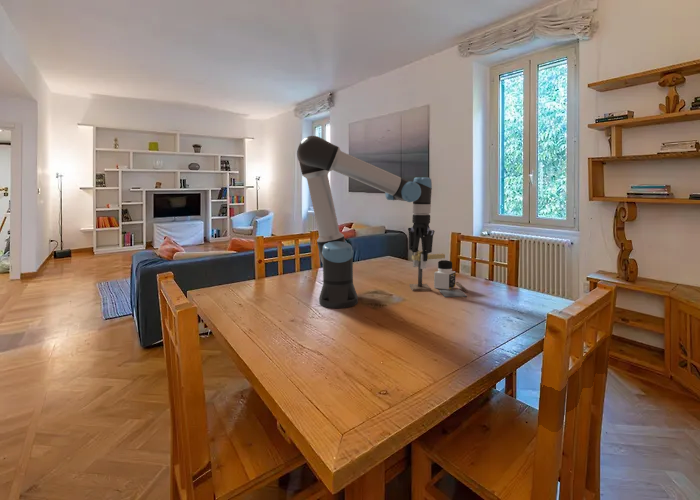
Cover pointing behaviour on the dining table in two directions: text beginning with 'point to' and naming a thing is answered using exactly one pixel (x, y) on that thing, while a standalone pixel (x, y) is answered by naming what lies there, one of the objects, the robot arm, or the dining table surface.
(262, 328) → the dining table surface
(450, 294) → the coaster
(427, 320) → the dining table surface
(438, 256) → the key
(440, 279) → the medicine bottle
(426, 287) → the holder
